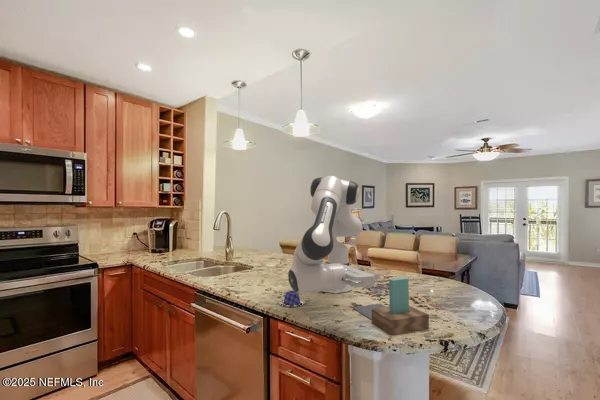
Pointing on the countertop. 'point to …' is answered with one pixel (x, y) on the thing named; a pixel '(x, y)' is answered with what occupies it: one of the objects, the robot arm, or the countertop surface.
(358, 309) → the mat
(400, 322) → the slot box
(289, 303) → the pudding
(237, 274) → the countertop surface
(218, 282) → the countertop surface
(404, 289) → the cover plate
